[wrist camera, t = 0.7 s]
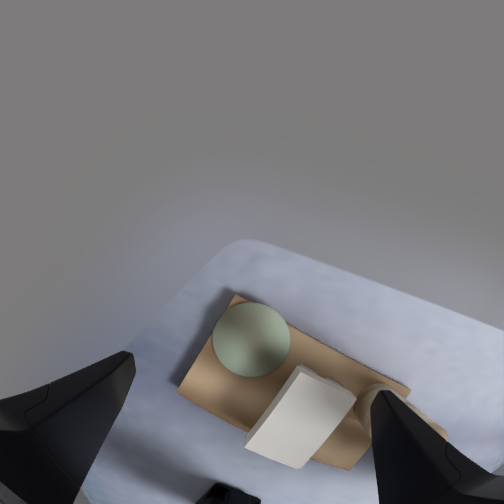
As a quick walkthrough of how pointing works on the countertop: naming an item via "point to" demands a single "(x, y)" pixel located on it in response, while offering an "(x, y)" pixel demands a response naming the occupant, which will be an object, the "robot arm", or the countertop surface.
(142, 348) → the countertop surface
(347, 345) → the countertop surface
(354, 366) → the wooden board
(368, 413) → the roller
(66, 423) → the robot arm
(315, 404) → the slab
